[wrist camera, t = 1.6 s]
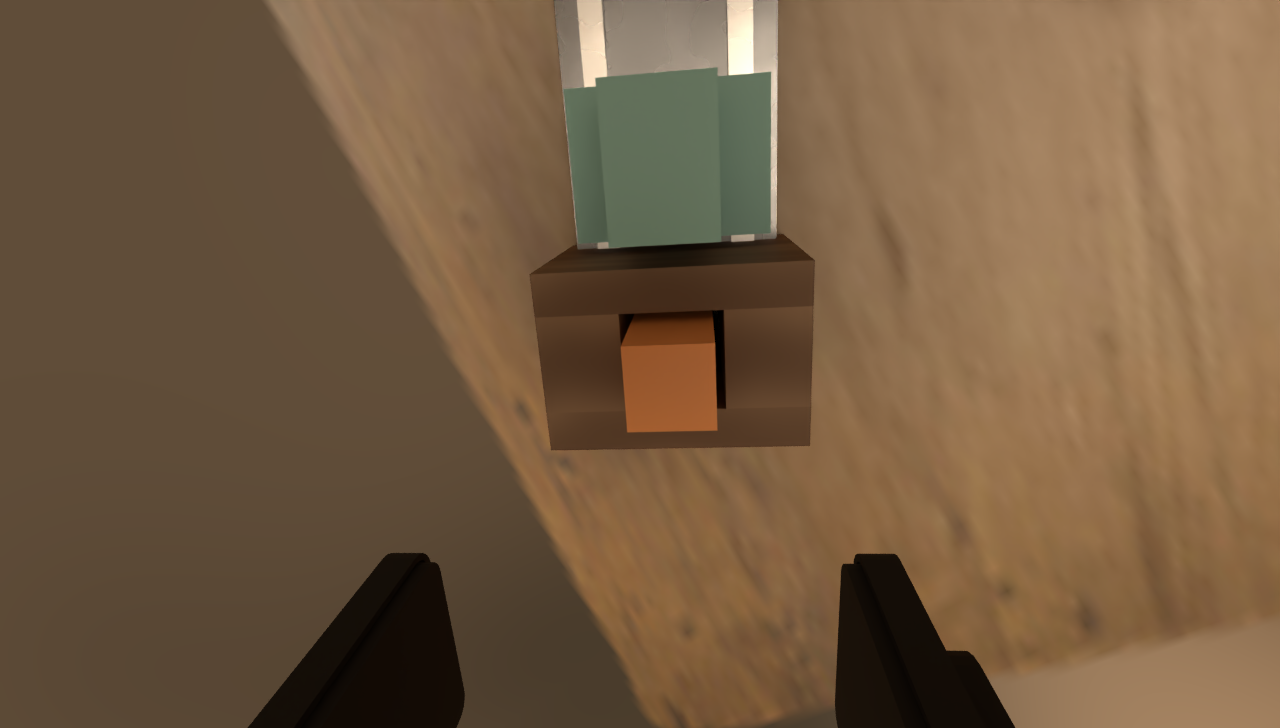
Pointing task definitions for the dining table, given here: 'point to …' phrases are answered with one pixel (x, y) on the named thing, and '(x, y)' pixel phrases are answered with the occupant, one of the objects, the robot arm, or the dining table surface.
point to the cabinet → (676, 282)
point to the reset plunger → (670, 372)
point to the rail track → (669, 50)
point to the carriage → (670, 157)
